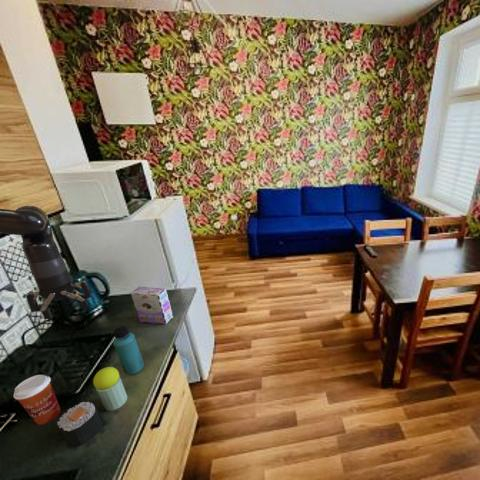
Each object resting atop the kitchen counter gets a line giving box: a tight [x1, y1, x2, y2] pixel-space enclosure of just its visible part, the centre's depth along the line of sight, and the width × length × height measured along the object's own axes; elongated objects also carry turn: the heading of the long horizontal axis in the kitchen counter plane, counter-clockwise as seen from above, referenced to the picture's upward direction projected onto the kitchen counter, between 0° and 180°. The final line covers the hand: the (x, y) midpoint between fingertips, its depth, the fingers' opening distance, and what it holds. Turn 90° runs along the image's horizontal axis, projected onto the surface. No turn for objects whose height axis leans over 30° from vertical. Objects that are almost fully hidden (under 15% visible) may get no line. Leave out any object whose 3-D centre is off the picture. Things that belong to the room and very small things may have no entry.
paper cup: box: [13, 374, 61, 426], centre depth 81 cm, size 8×8×14 cm
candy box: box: [129, 286, 174, 326], centre depth 123 cm, size 14×6×16 cm, turn 83°
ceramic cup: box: [95, 375, 128, 412], centre depth 86 cm, size 6×6×9 cm
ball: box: [92, 366, 120, 390], centre depth 84 cm, size 6×6×6 cm
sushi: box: [56, 401, 104, 447], centre depth 78 cm, size 8×8×8 cm
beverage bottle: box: [112, 325, 145, 376], centre depth 95 cm, size 6×7×20 cm
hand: (68, 313), depth 88 cm, fingers open, 8 cm apart
